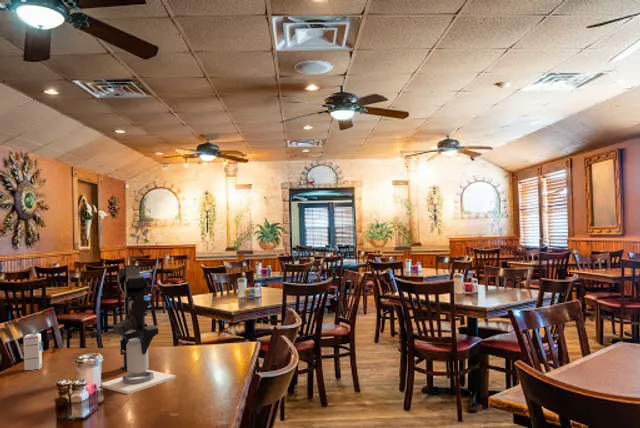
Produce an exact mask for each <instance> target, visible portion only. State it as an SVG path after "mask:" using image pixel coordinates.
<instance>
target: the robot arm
mask: <svg viewBox="0 0 640 428" xmlns="http://www.w3.org/2000/svg"><path fill="white" fill-rule="evenodd" d="M140 272H141V271H140V270H139V269H138V267H137V264H125V265H123V267H122V269H121V270H119V271H118V272H117V283H118V285H119V289H120V290H121V292H122V293H123V301H124V305H123V306H124V319H123V320H121V321H119V322H117V323H115V324H114V325H113V326H112V328H113V330H114V333H115V335H119V336H121V339H120V340H119V354H120V356H123V358H122V359H123V365H122V366H120V367H119V368H120V369H122V370H126V371H127V343H128V342H129V341H128V340H129V339H132V338H138V339H139V340H140V341H141V349H142V354H146V351H147V349H148V350H149V347H150V345H151V342H152V341H153V338H154V337H156V335H159V331H160V330H159V329H160V328H158V327H157V326H155V325H148V323H146V319H145V318H146V316H148V312H147V310H148V309H149V304H148V302H147V301H146V299H145V296H146V297H147V296H149V294H150V286H149V285H150V284H149V282H148V280H147V279H145V276H144V275H140V274H141V273H140Z"/></svg>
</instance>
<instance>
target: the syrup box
mask: <svg viewBox="0 0 640 428" xmlns="http://www.w3.org/2000/svg"><path fill="white" fill-rule="evenodd" d="M42 351H43V349H42V334H41V333H38V332H37V333H30V334H26V335H25V336H23V361H24V363H23V365H24V371H25V370H32V371H35V370H34V369H39V370H41V368H42V367H43V357H42V356H43V352H42Z"/></svg>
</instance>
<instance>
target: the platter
mask: <svg viewBox="0 0 640 428" xmlns="http://www.w3.org/2000/svg"><path fill="white" fill-rule="evenodd" d="M174 379H177V375H175V374H170V373H166V372H160V371H156V370H150V369H147V370H146V371H145V372H142V373H130V372H129V373H127V374H125V375H123V376H121V377H117V378H114V379H111V380H107V381H104V382H101V383H102V385H103V387H102V388H103V389H107V390H110V391H111V390H112V391H115V392H119V393H122V394H126V395H130V394H133V393H136V392H139V391H142V390H145V389H148V388H151V387H155V386H157V384H158V385H161V384H164V383H165V382H169V381H173V380H174Z"/></svg>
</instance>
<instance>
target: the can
mask: <svg viewBox="0 0 640 428" xmlns="http://www.w3.org/2000/svg"><path fill="white" fill-rule="evenodd" d="M128 341H129V342H128V343H127V370H126V371H127V372H128V373H129V374H130V373H142V372H145V371H146V370H149V366H150V365H149V363H150V362H149V348H148V349H147V351H146V354H142V349H141V341H140V340H139V339H138V338H132V339H129V340H128Z"/></svg>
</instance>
